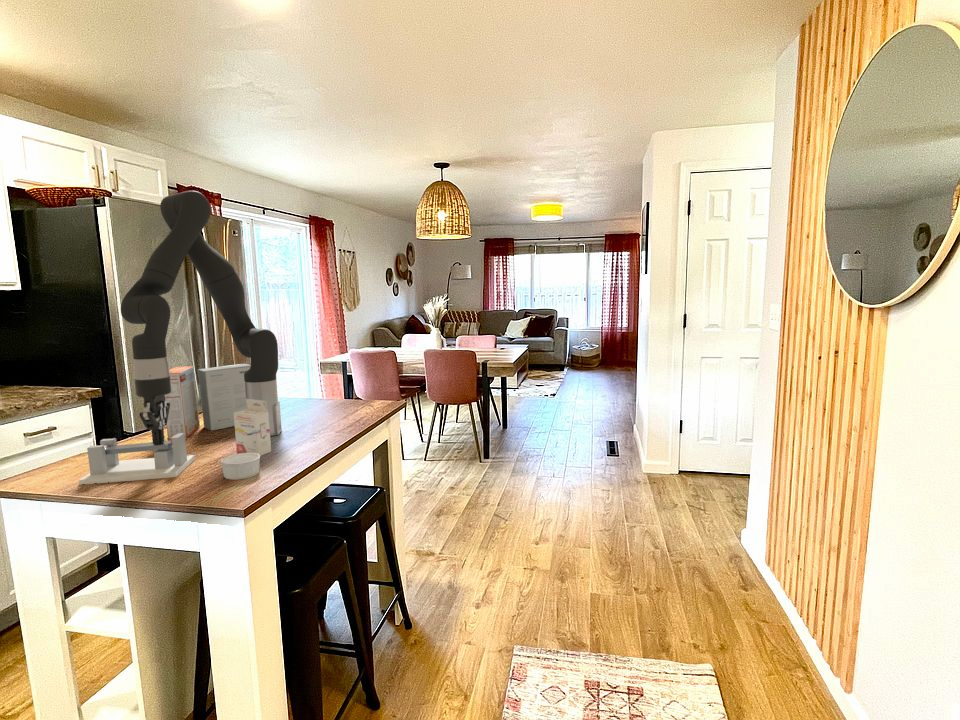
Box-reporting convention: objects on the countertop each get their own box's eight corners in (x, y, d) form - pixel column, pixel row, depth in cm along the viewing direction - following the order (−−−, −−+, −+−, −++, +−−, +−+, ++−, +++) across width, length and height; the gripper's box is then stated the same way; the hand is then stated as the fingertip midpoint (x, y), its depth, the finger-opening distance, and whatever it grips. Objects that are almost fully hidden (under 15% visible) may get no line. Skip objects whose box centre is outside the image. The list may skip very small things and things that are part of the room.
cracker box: (180, 428, 174) (174, 366, 171) (200, 427, 176) (194, 365, 173) (166, 440, 161) (158, 372, 158) (187, 438, 162) (180, 371, 159)
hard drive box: (250, 418, 186) (245, 363, 184) (258, 422, 181) (253, 365, 178) (202, 427, 176) (197, 368, 173) (209, 431, 170) (203, 370, 168)
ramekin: (235, 468, 134) (233, 451, 133) (268, 468, 133) (267, 452, 132) (214, 480, 125) (212, 463, 124) (249, 481, 124) (247, 464, 123)
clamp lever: (174, 446, 135) (173, 438, 135) (168, 450, 132) (167, 442, 131) (102, 453, 132) (101, 444, 132) (94, 457, 128) (93, 449, 128)
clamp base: (195, 459, 141) (192, 428, 140) (176, 477, 128) (172, 442, 127) (108, 465, 137) (104, 433, 136) (79, 484, 124) (74, 449, 123)
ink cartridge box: (235, 453, 146) (231, 401, 144) (250, 448, 150) (246, 398, 148) (258, 457, 142) (253, 404, 140) (272, 451, 147) (268, 400, 145)
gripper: (158, 379, 125) (165, 450, 127) (178, 371, 137) (184, 435, 140) (123, 381, 123) (130, 452, 125) (146, 372, 136) (153, 437, 138)
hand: (158, 443), depth 132 cm, fingers closed
